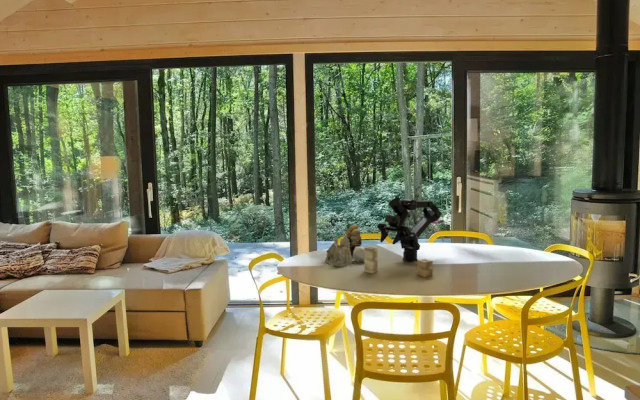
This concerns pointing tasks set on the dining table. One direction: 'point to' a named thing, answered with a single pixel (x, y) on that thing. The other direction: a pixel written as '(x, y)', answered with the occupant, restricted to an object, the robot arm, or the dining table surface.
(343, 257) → the jagged grey rock
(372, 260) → the cream two-panel pillar
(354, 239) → the brown lumpy rock
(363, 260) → the die
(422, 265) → the oak block
